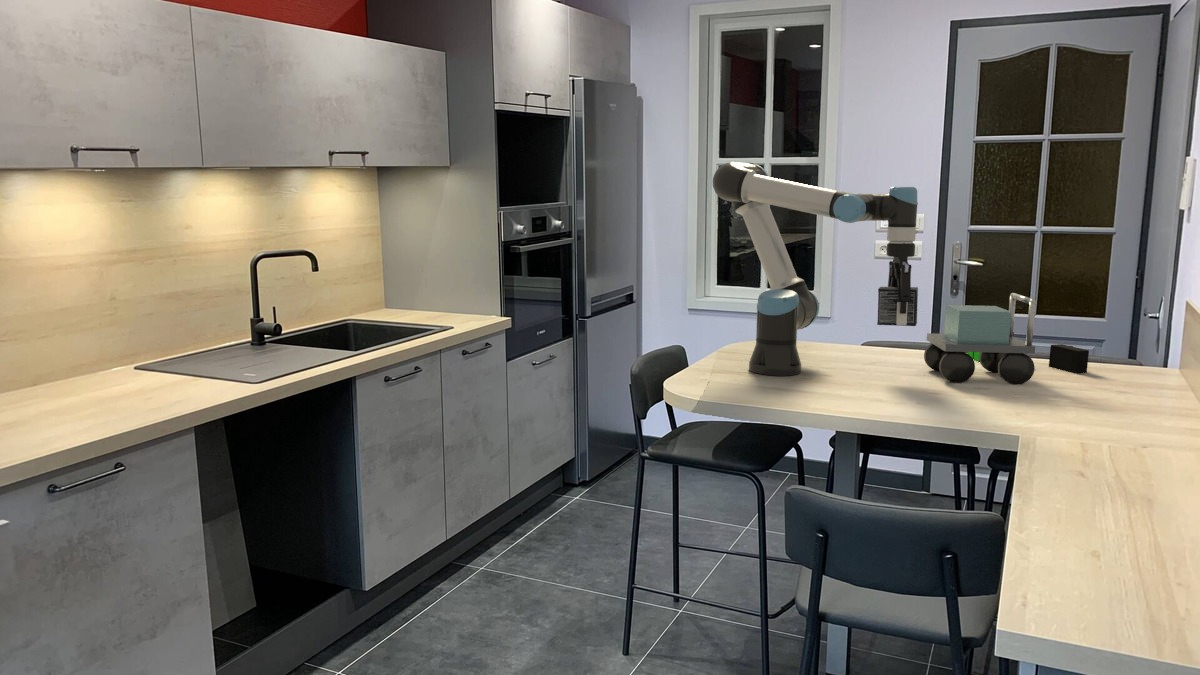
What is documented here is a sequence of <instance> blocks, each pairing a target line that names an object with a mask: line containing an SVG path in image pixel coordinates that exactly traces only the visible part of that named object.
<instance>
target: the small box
mask: <svg viewBox="0 0 1200 675" xmlns="http://www.w3.org/2000/svg"><path fill="white" fill-rule="evenodd" d="M877 290H878V292H877V293H878V295H877V297H878V299H877V325H876V326H901V327H902V326H904V327H916V326H917V323H918V301H919V300H918V296H919V294H918V292H919V291H918V290H919V287H918V286H915V287H912V286H911V300H910V301H908V307H907V325H896V315H897V302H896V300H897V299H898V287H888V286H879V288H878V289H877Z"/></svg>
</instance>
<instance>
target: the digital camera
mask: <svg viewBox="0 0 1200 675" xmlns="http://www.w3.org/2000/svg"><path fill="white" fill-rule="evenodd" d="M1089 355H1090V350H1088V349H1085V348H1082V347H1081V348H1080V347H1077V346H1072V345H1066V344H1061V343H1060V344H1051V345H1050V349H1049V359H1048V360H1049V361H1048V368H1051V367H1052V368H1051V369H1055V368H1056V370H1059V369H1060V370H1059V371H1062V372H1063V371H1064V372H1067V373H1070V374H1076V375H1078V374H1087V373H1088V365H1089Z"/></svg>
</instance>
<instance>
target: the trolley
mask: <svg viewBox="0 0 1200 675" xmlns="http://www.w3.org/2000/svg"><path fill="white" fill-rule="evenodd" d="M1017 301H1020V302H1022V303H1025V304H1028V305H1029V306H1028V315H1027V326H1026V336H1025V340H1022V339H1020V338H1018V337H1015V336H1014V337H1013V332H1014V322H1015V314H1016V313H1015V312H1016V302H1017ZM1036 304H1037V301H1036V299H1034V298H1031V297H1028V296H1024V295H1022V294H1018V293H1015V292H1012V293H1010V294H1009V305H1008V310H1007V309H1005V308H1002V307H999V306H997V305H969V304H968V305H965V304H964V305H962V304H961V305H960V304H959V305H958V304H955V305H954V304H946V306H945V317H944V318H945V319H944V331H943V333H927V334H926V341H928V342H929V344H928V346H927V347H926V348H925V350H924V353H923V359H924V362H925V364H926V366H928V367H929V369H932V370H933V371H935V372H938V373H939V372H940V374H941V376H942V377H943V378H945V380H947V381H948V382H949V383H953V384H962V383H966V382H967V381H968V380H970V379H971V378H972V377H973V375H974V373H975V371H976V363H975V360H973V358H972V357H971V356H970V355H969V354H967V353H968V352H980V355H979V360H980V363H979V364H980V365H981V367H982V368H983V369H985V370H987V371H988V372H989V373H992V374H998V376H1000V378H1001V379H1002V380H1003V381H1005V382H1007V383H1008V384H1011V385H1013V386H1014V385H1016V386H1019V385H1023V384H1025V383H1028V382H1029V380H1031V378H1032V377H1033V376H1034V373H1035V369H1036V368H1035V367H1036V366H1035V362H1034V360H1033V359H1032V358H1031V357H1030V356H1029V355H1028V354H1035V353H1036V346H1035V345H1033V339H1034V338H1033V336H1034V328H1035V316H1036Z"/></svg>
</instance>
